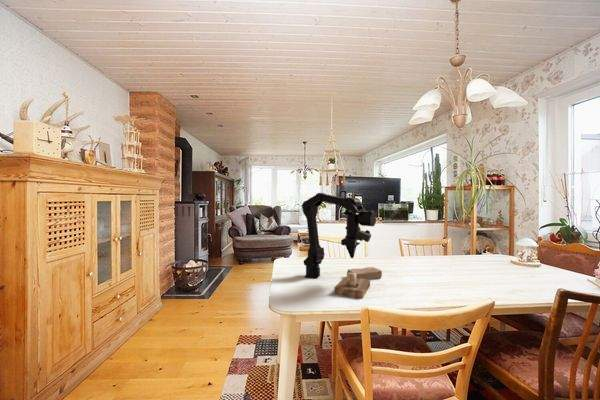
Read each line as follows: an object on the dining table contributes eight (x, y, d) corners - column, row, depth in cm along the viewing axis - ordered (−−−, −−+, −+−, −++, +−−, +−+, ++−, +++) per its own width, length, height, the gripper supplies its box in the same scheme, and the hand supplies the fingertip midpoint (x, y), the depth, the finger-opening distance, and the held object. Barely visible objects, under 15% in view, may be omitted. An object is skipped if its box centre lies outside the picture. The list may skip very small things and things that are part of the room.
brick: (354, 282, 141) (354, 272, 140) (345, 277, 148) (346, 268, 148) (382, 279, 146) (382, 270, 146) (373, 275, 154) (373, 266, 154)
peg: (345, 292, 124) (345, 274, 124) (347, 289, 127) (348, 272, 127) (355, 294, 122) (355, 275, 122) (357, 291, 126) (357, 273, 126)
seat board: (334, 294, 122) (334, 287, 122) (344, 282, 138) (345, 276, 138) (362, 298, 117) (362, 291, 117) (370, 286, 133) (370, 279, 133)
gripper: (366, 227, 122) (365, 264, 122) (373, 224, 139) (372, 256, 139) (341, 226, 126) (340, 261, 126) (350, 222, 143) (350, 253, 143)
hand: (352, 258), depth 134 cm, fingers closed
